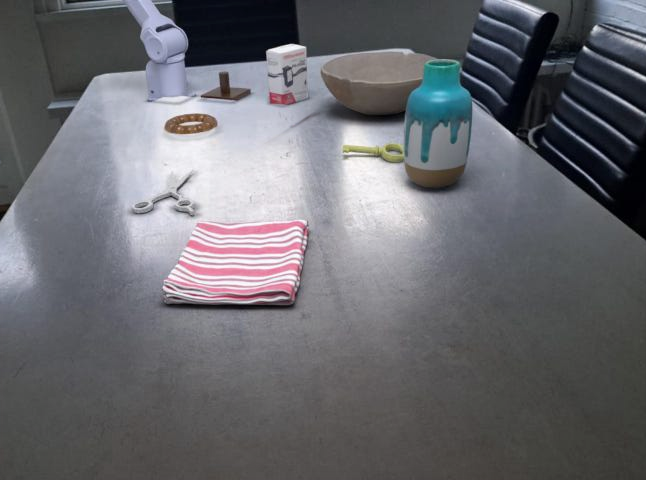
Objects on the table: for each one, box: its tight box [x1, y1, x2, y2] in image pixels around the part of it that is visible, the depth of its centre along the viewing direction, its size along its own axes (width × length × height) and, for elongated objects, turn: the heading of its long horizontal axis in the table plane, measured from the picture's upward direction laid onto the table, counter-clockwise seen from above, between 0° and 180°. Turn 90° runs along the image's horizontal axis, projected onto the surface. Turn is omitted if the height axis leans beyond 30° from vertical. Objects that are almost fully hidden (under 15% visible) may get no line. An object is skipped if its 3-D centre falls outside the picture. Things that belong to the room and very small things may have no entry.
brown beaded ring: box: [163, 112, 219, 135], centre depth 146 cm, size 11×11×3 cm
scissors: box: [131, 170, 195, 216], centre depth 117 cm, size 11×1×20 cm
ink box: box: [265, 43, 309, 106], centre depth 160 cm, size 8×5×12 cm, turn 134°
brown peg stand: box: [199, 71, 252, 101], centre depth 168 cm, size 9×9×6 cm
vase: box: [402, 58, 473, 188], centre depth 110 cm, size 11×11×19 cm
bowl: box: [320, 51, 438, 116], centre depth 149 cm, size 26×26×10 cm
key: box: [342, 142, 404, 163], centre depth 127 cm, size 7×12×2 cm, turn 102°
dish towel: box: [161, 219, 310, 306], centre depth 93 cm, size 17×23×4 cm
